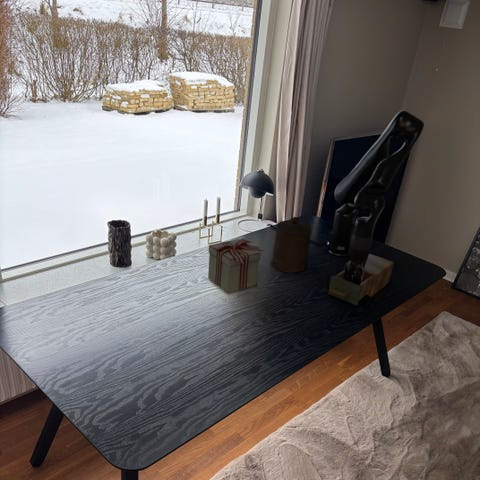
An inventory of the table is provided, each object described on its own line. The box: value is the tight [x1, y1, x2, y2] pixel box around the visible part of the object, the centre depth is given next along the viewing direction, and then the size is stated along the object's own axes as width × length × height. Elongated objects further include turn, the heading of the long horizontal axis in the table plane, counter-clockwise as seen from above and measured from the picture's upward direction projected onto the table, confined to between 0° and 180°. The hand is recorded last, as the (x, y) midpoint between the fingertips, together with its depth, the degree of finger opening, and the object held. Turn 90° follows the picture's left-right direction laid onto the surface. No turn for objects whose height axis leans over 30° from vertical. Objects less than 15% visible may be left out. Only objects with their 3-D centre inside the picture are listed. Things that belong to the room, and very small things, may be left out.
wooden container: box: [271, 216, 312, 273], centre depth 207 cm, size 15×15×22 cm
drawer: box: [327, 269, 374, 306], centre depth 189 cm, size 22×13×8 cm, turn 141°
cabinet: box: [343, 253, 395, 298], centre depth 200 cm, size 17×14×10 cm
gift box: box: [207, 238, 264, 294], centre depth 191 cm, size 17×18×17 cm
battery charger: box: [344, 265, 364, 285], centre depth 188 cm, size 7×4×11 cm, turn 49°
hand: (351, 285), depth 190 cm, fingers open, 5 cm apart
